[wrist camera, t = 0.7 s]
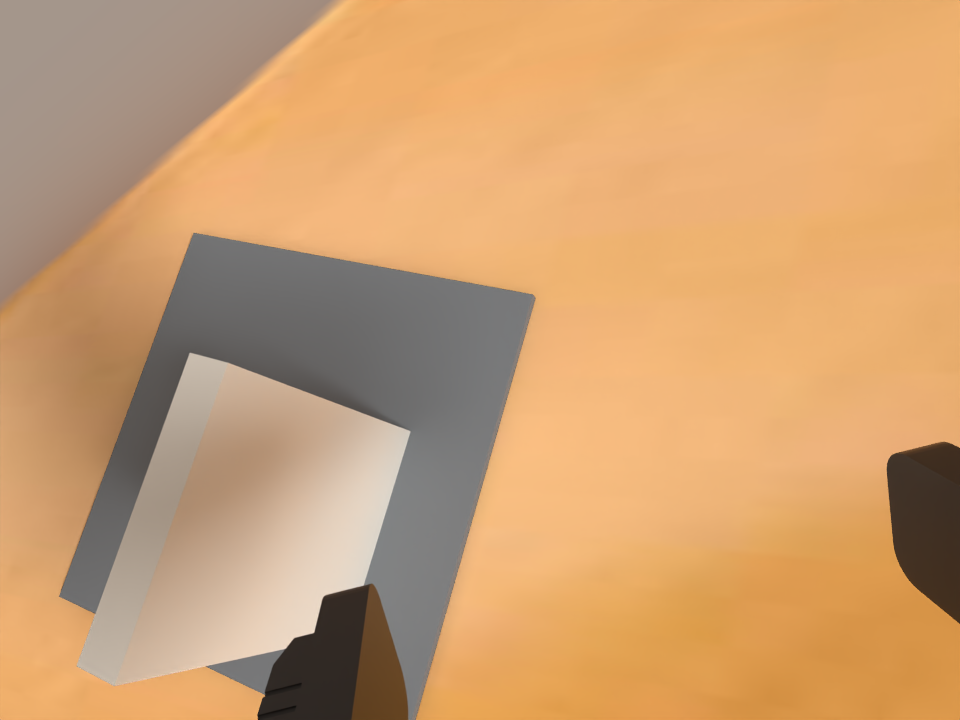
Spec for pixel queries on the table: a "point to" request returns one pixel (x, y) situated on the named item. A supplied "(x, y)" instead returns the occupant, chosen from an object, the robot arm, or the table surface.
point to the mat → (348, 382)
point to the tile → (241, 524)
